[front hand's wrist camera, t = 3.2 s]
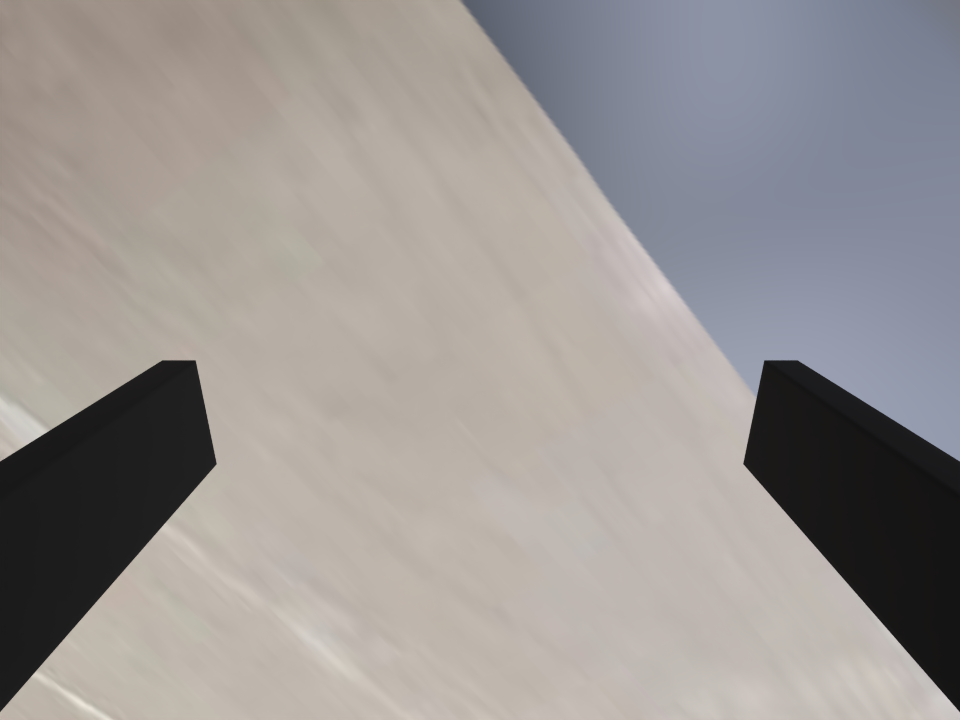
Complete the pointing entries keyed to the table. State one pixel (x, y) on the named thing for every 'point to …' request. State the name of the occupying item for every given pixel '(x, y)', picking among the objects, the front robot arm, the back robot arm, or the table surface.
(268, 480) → the table surface
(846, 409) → the front robot arm
